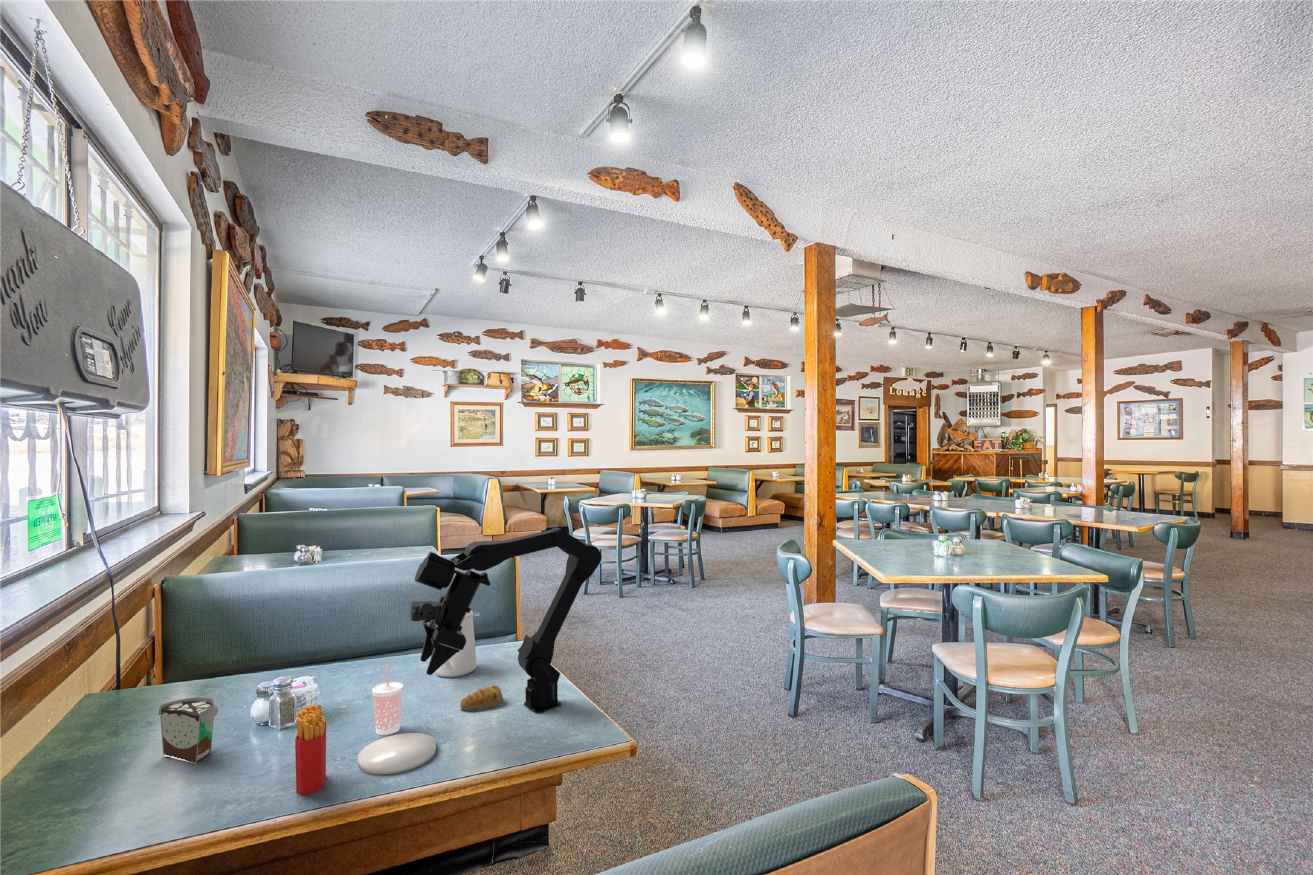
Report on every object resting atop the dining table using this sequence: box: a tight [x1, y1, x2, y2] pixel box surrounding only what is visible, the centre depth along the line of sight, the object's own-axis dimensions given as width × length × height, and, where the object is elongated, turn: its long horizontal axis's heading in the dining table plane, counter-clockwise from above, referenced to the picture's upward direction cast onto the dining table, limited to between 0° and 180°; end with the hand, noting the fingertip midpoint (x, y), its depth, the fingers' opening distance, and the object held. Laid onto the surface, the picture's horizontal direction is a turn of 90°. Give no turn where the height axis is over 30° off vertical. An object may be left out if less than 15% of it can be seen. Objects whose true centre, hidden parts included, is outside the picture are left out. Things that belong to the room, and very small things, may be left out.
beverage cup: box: [371, 663, 404, 736], centre depth 132 cm, size 6×6×14 cm
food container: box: [157, 696, 219, 765], centre depth 123 cm, size 12×6×10 cm, turn 71°
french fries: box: [294, 703, 327, 796], centre depth 112 cm, size 9×4×13 cm, turn 20°
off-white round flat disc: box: [357, 732, 437, 775], centre depth 121 cm, size 14×14×1 cm
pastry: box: [459, 684, 504, 712], centre depth 145 cm, size 9×7×4 cm
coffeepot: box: [434, 609, 477, 678], centre depth 168 cm, size 11×25×19 cm, turn 6°
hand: (425, 667), depth 132 cm, fingers open, 9 cm apart
